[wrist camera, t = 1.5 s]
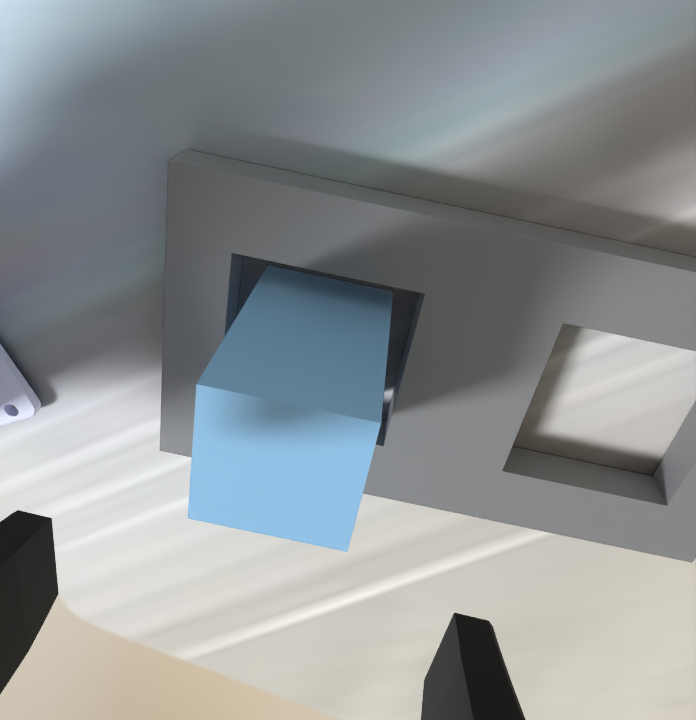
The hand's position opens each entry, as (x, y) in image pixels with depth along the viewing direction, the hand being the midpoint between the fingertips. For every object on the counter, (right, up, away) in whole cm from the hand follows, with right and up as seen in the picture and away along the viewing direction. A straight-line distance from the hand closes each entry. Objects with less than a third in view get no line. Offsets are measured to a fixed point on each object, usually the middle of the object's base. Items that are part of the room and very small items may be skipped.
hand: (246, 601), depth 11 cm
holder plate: (+6, +4, +9) cm, 11 cm away
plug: (+1, +5, +9) cm, 11 cm away
